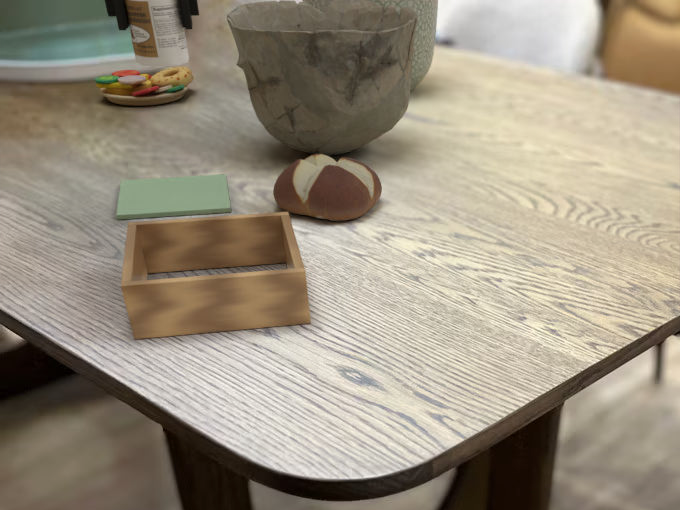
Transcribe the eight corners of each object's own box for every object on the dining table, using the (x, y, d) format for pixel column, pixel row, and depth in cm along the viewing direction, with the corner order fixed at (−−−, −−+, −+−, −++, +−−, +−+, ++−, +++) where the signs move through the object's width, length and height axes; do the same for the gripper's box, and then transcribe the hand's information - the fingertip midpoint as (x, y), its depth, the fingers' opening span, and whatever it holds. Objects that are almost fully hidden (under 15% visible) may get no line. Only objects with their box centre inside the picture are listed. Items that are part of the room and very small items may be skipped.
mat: (117, 220, 90) (115, 215, 89) (121, 184, 98) (120, 180, 98) (231, 212, 92) (230, 207, 91) (226, 178, 100) (225, 174, 100)
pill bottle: (127, 61, 72) (103, -53, 66) (174, 55, 74) (155, -56, 69) (151, 70, 69) (128, -47, 64) (199, 64, 72) (181, -50, 66)
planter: (319, 73, 142) (307, -70, 129) (442, 76, 141) (443, -68, 128) (298, 104, 126) (282, -56, 114) (436, 107, 126) (436, -52, 113)
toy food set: (203, 89, 133) (199, 65, 130) (174, 110, 123) (170, 84, 121) (122, 85, 134) (116, 61, 131) (87, 106, 124) (80, 81, 122)
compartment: (134, 339, 69) (120, 286, 66) (139, 271, 80) (127, 222, 77) (311, 323, 72) (305, 271, 69) (293, 259, 82) (288, 211, 79)
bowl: (449, 145, 112) (450, 8, 101) (346, 188, 98) (336, 36, 88) (321, 119, 120) (311, -9, 110) (211, 156, 107) (187, 13, 97)
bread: (345, 230, 88) (342, 179, 85) (259, 211, 92) (252, 161, 89) (400, 200, 95) (399, 152, 92) (318, 183, 99) (314, 136, 96)
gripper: (223, -282, 62) (257, 18, 74) (-23, -293, 59) (55, 20, 71) (225, -291, 56) (261, 34, 69) (-46, -304, 53) (43, 37, 66)
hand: (156, 24), depth 70 cm, fingers closed on pill bottle, 4 cm apart
